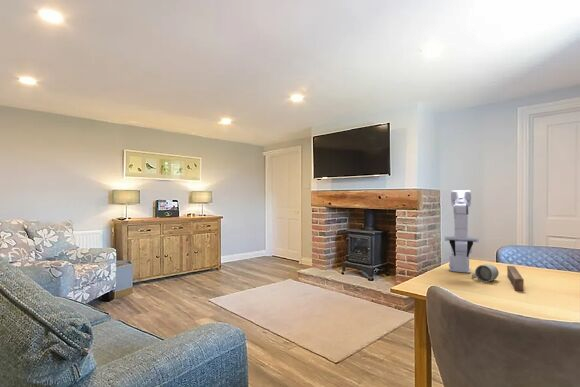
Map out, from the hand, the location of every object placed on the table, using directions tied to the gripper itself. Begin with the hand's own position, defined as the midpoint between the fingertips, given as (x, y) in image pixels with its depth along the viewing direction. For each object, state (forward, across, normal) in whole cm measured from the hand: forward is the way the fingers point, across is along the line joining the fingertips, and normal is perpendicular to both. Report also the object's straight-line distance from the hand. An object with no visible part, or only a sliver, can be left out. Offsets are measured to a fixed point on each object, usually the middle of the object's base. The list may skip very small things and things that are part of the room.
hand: (461, 256), depth 157 cm
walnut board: (+10, +22, 0) cm, 24 cm away
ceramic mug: (+11, +10, +1) cm, 14 cm away
